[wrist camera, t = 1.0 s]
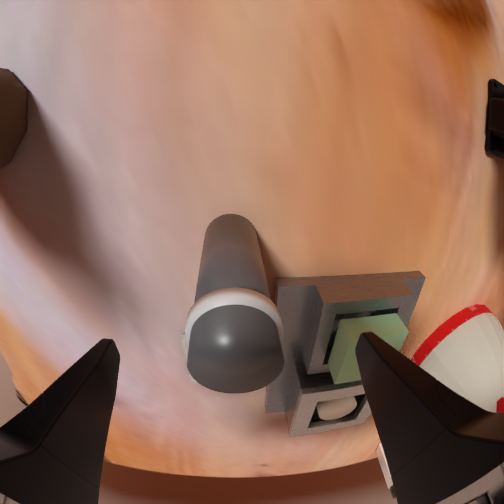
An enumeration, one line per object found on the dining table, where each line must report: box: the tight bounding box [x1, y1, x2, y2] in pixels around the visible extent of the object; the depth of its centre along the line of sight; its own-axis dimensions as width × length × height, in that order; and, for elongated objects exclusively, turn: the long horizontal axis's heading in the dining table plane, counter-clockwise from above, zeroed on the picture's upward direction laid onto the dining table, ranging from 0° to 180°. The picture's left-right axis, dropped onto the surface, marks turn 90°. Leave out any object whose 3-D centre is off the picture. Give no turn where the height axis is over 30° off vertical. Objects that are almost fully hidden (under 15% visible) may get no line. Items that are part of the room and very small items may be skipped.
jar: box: [376, 442, 396, 498], centre depth 33 cm, size 9×8×12 cm
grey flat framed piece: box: [265, 271, 425, 437], centre depth 21 cm, size 12×16×4 cm
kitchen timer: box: [411, 304, 504, 413], centre depth 20 cm, size 14×14×15 cm
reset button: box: [316, 396, 357, 420], centre depth 22 cm, size 4×4×1 cm
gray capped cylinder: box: [185, 214, 284, 393], centre depth 13 cm, size 4×4×10 cm
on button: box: [328, 313, 409, 384], centre depth 18 cm, size 4×4×2 cm
